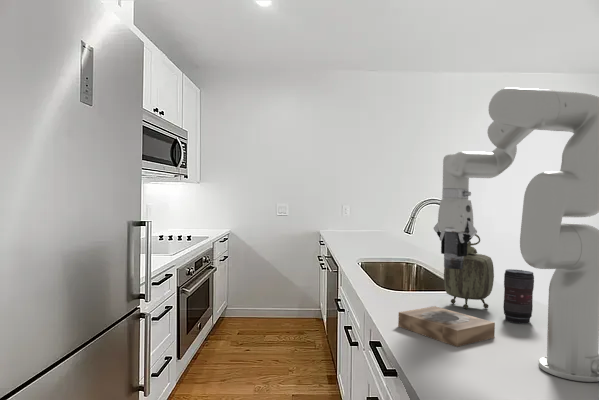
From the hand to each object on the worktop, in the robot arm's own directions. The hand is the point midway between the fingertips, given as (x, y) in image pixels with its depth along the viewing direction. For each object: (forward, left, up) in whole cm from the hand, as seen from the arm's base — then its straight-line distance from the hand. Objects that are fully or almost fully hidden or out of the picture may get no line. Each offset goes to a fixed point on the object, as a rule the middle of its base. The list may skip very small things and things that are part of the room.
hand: (453, 254), depth 143 cm
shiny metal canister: (0, 0, -4) cm, 4 cm away
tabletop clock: (+6, -15, -20) cm, 25 cm away
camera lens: (-12, -15, -20) cm, 27 cm away
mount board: (-9, +14, -19) cm, 25 cm away
